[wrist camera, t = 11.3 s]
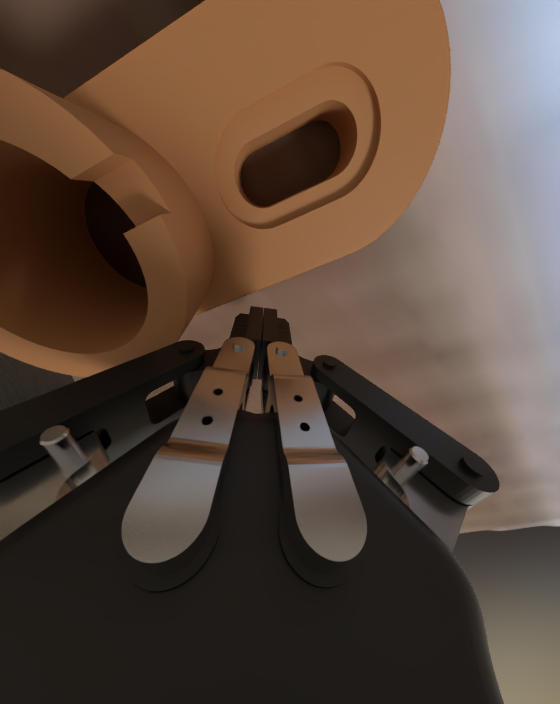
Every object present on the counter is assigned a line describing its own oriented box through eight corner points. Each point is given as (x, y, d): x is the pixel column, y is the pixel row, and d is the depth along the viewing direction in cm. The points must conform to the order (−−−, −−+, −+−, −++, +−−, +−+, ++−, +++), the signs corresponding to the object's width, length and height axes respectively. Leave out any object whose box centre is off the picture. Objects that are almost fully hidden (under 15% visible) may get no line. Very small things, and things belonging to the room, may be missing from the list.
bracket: (139, 324, 15) (61, 400, 9) (16, 182, 10) (-280, 163, 5) (410, 212, 12) (538, 226, 6) (402, -61, 7) (861, -952, 2)
